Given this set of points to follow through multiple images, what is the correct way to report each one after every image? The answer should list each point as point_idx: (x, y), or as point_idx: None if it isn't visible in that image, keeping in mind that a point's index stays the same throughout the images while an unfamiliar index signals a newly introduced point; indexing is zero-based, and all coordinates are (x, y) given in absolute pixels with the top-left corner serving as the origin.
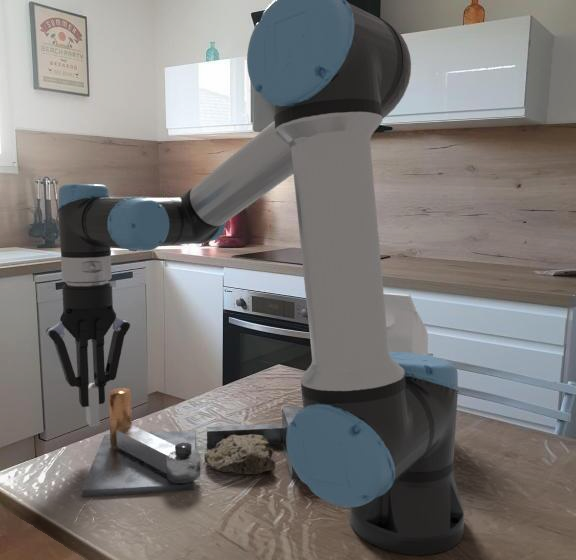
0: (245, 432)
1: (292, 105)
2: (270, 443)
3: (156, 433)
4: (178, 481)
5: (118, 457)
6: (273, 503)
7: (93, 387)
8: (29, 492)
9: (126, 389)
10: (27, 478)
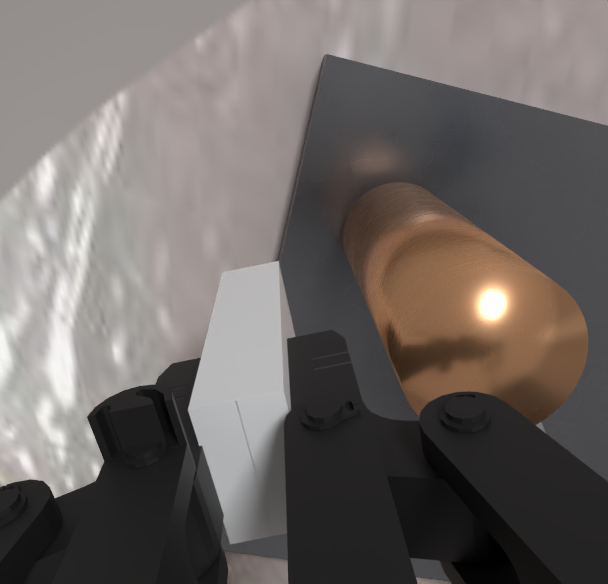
0: None
1: None
2: None
3: (586, 143)
4: None
5: (361, 354)
6: None
7: (272, 520)
8: (37, 461)
9: (561, 325)
10: (4, 360)
